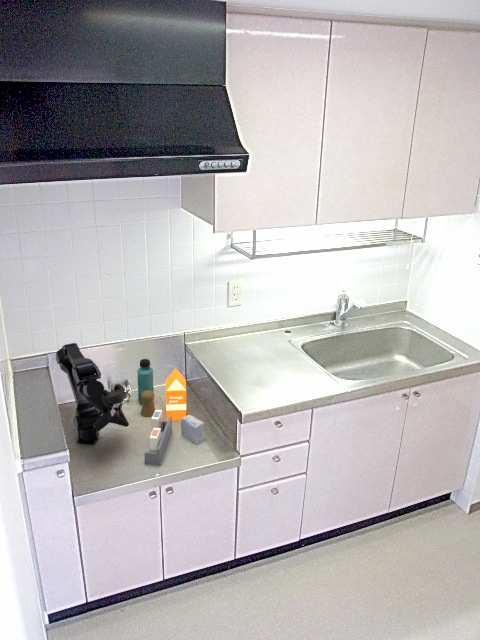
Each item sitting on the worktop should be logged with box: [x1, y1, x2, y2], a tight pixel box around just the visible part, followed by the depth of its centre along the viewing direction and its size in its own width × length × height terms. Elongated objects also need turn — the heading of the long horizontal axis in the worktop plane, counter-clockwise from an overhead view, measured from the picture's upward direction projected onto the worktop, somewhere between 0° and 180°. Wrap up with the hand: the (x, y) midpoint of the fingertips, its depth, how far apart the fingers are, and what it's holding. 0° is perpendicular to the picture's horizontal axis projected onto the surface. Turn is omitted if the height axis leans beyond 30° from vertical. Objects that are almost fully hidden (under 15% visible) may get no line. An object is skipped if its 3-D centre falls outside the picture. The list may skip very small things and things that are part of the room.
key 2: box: [150, 409, 163, 433], centre depth 201 cm, size 2×6×10 cm, turn 174°
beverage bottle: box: [137, 358, 155, 404], centre depth 222 cm, size 6×7×20 cm
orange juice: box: [165, 367, 187, 422], centre depth 214 cm, size 8×9×20 cm
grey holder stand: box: [143, 416, 173, 466], centre depth 197 cm, size 7×20×8 cm, turn 175°
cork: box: [140, 390, 156, 418], centre depth 216 cm, size 6×6×11 cm
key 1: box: [149, 428, 161, 452], centre depth 191 cm, size 2×6×10 cm, turn 175°
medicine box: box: [180, 414, 205, 445], centre depth 203 cm, size 8×4×9 cm, turn 48°
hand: (127, 425), depth 191 cm, fingers closed
